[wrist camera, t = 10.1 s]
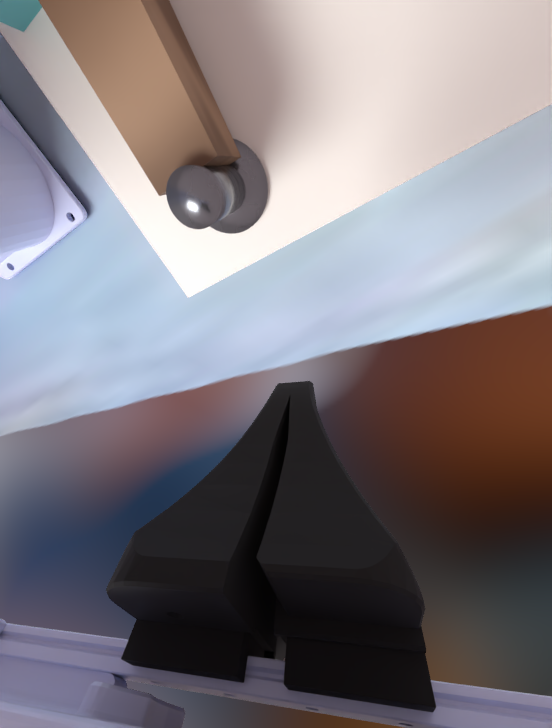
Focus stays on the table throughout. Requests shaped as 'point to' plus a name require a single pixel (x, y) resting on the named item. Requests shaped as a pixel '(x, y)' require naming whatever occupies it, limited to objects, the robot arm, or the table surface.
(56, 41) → the board
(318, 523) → the robot arm
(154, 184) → the folding leg
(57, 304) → the table surface
